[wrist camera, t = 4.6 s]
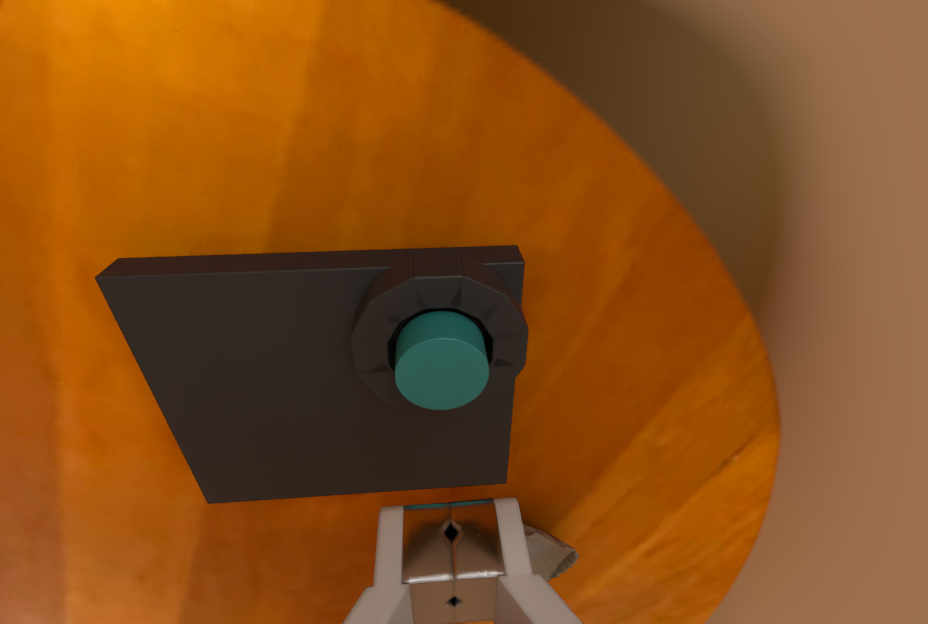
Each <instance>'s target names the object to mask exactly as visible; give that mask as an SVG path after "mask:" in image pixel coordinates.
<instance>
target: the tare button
mask: <svg viewBox="0 0 928 624" xmlns="http://www.w3.org/2000/svg"><path fill="white" fill-rule="evenodd" d="M394 375H395V383H396V385H397V387H398V389H399V391H400V392H401V394H402V395H403V396H404V397H405V398H406V399H407V400H409V401H410V402H412V403H413V404H415V405H417V406H420V407H423V408H426V409H432V410H447V409H453V408H457V407H460V406H463V405H465V404H467V403H469V402H471V401H472V400H474V399H475V398H476V397H477V396H478V395H479V394H480V393H481V392H482V391H483V389H484V388H485V386H486V384H487V381H488V378H489V365H488V360H487V355H486V350H485V345H484V340H483V336H482V333H481V331H480V330H479V328H478V327H477V326H476V324H475V323H474V322H472V321H471V320H470V319H468V318H467V317H465V316H463V315H461V314H458V313H455V312H450V311H433V312H428V313H425V314H422V315H420V316H418V317H416V318H414V319H413V320H411V321H410V322H409V323H408V324H407V325H406V326H405V327H404V328H403V329H402V331H401V332H400V334H399V336H398V339H397V345H396V358H395V372H394Z"/></svg>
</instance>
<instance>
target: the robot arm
mask: <svg viewBox="0 0 928 624" xmlns="http://www.w3.org/2000/svg"><path fill="white" fill-rule="evenodd" d="M493 620H494V623H495V624H583V623H582V622H581V621H580V620H579V619H578V617H577V616H576V615H575V614H574V613H573V612H572V610H571V609H570V608H569V607H568V606H567V604H566V603H565V602H564V601H563V600H562V599H561V597H560V596H559V595H558V594H557V593H556V592H555V590H554V589H553V588H552V587H551V586H550V585H549V583H548V582H547V581H546V580H545V579H544V577H543V576H542V575H541V574H540V573H533V572H532V567H531V562H530V557H529V553H528V548H527V543H526V538H525V533H524V528H523V523H522V518H521V514H520V509H519V504H518V501H517V500H516V498H515V497H509V498H498V499H492V498H490V499H479V500H468V501H457V502H449V503H435V504H420V505H405V506H404V505H399V506H387V507H381V509H380V513H379V519H378V532H377V545H376V557H375V570H374V583H373V586H372V587H366V588H365V590H364V591H363V593H362V594H361V596H360V597H359V599H358V600H357V602H356V603H355V605H354V607H353V608H352V610H351V611H350V613H349V614H348V616H347V617H346V619H345V620H344V622H343V623H342V624H449V623H454V622H455V623H460V622H476V621H493Z"/></svg>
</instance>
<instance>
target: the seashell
mask: <svg viewBox="0 0 928 624" xmlns="http://www.w3.org/2000/svg"><path fill="white" fill-rule="evenodd" d="M523 528H524V533H525V538H526V543H527V548H528V553H529V557H530V562H531V567H532V572H533V573H540V574H541V575H542V576H543V577H544V579H545V580H546V581H549V580H551V579H552V578H555V577H559V575H560V574H561V573H565V572H566V571H567V570H568V568H571V567H572V566H573V564H575V563H576V561H577V559H578V557H579V554H578V553H577V552H576V550H575V549H574V548H572V547H571V546H569V545H568V544H566V543H564V542H562V541H560V540H559V539H557V538H556V537H554V536H552V535H550V534H548V533H546V532H543V531H540V530H537V529H535V528H533V527H531V526H528V525H525V524H523Z"/></svg>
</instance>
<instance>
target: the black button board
mask: <svg viewBox="0 0 928 624" xmlns="http://www.w3.org/2000/svg"><path fill="white" fill-rule="evenodd" d="M524 265H525V263H524V260H523V258H522V255H521V253H520V250H519V248H518V246H516V245H515V246H484V247H454V248H423V249H393V250H362V251H332V252H301V253H271V254H240V255H210V256H179V257H149V258H119V259H117V260H115V261H114V262H113V263H112V264H111V265H109V266H108V267H107V268H106V269H104V270H103V271H102V272H101V273H100V274H98V275H97V276H96V277H95V279H96V281H97V283H98V285H99V287H100V289H101V291H102V293H103V295H104V297H105V299H106V301H107V303H108V305H109V307H110V309H111V311H112V313H113V315H114V317H115V319H116V321H117V323H118V325H119V327H120V329H121V331H122V333H123V335H124V337H125V339H126V341H127V343H128V345H129V347H130V349H131V351H132V353H133V355H134V357H135V359H136V361H137V363H138V365H139V367H140V369H141V371H142V373H143V375H144V377H145V379H146V381H147V383H148V385H149V387H150V389H151V391H152V393H153V395H154V397H155V399H156V401H157V403H158V405H159V407H160V409H161V411H162V413H163V415H164V417H165V419H166V421H167V423H168V425H169V427H170V429H171V431H172V433H173V435H174V437H175V439H176V441H177V443H178V445H179V447H180V449H181V451H182V453H183V455H184V457H185V459H186V461H187V463H188V465H189V467H190V469H191V471H192V473H193V475H194V477H195V479H196V481H197V483H198V485H199V487H200V489H201V491H202V493H203V495H204V497H205V499H206V501H207V503H208V504H212V503H227V502H241V501H256V500H270V499H285V498H300V497H314V496H329V495H344V494H358V493H373V492H388V491H402V490H417V489H432V488H446V487H461V486H475V485H490V484H505V483H506V481H507V469H508V457H509V445H510V433H511V421H512V409H513V397H514V385H515V378H516V376H517V375H518V374H519V373H520V371H521V370H522V369H523V367H524V366H525V362H526V351H527V341H528V327H527V324H526V321H525V318H524V315H523V312H522V309H521V301H522V289H523V277H524ZM433 311H450V312H455V313H458V314H461V315H463V316H465V317H467V318H468V319H470V320H471V321H472V322H474V323H475V324H476V326H477V327H478V328H479V330H480V331H481V333H482V336H483V340H484V345H485V350H486V355H487V360H488V365H489V378H488V381H487V384H486V386H485V388H484V389H483V391H482V392H481V393H480V394H479V395H478V396H477V397H476V398H475V399H474V400H472V401H471V402H469V403H467V404H465V405H463V406H460V407H457V408H453V409H447V410H432V409H426V408H423V407H420V406H417V405H415V404H413V403H412V402H410V401H409V400H407V399H406V398H405V397H404V396H403V395H402V394H401V392H400V391H399V389H398V387H397V385H396V383H395V375H394V372H395V358H396V345H397V339H398V336H399V334H400V332H401V331H402V329H403V328H404V327H405V326H406V325H407V324H408V323H409V322H410V321H411V320H413V319H414V318H416V317H418V316H420V315H422V314H425V313H428V312H433Z"/></svg>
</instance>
